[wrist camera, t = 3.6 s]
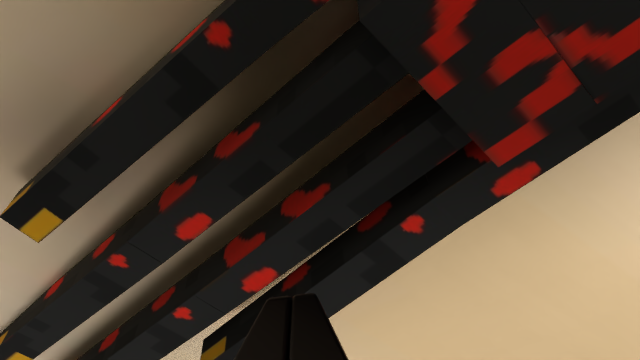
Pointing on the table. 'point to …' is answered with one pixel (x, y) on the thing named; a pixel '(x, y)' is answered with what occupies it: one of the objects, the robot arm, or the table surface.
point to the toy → (341, 174)
